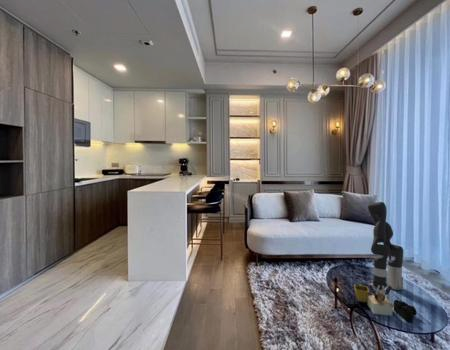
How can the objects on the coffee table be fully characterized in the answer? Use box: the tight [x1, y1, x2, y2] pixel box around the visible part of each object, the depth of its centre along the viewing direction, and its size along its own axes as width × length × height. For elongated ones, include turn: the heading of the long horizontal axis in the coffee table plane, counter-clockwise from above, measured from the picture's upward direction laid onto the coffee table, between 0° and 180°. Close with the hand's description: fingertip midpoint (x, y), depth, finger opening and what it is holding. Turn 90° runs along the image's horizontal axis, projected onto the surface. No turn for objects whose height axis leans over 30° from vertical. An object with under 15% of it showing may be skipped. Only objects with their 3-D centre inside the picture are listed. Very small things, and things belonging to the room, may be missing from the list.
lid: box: [367, 290, 394, 308], centre depth 166 cm, size 12×12×7 cm
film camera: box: [393, 299, 418, 323], centre depth 160 cm, size 15×10×9 cm, turn 178°
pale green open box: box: [367, 298, 393, 316], centre depth 166 cm, size 11×11×6 cm
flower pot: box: [353, 284, 371, 303], centre depth 179 cm, size 9×9×9 cm
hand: (379, 299), depth 166 cm, fingers closed on lid, 3 cm apart
